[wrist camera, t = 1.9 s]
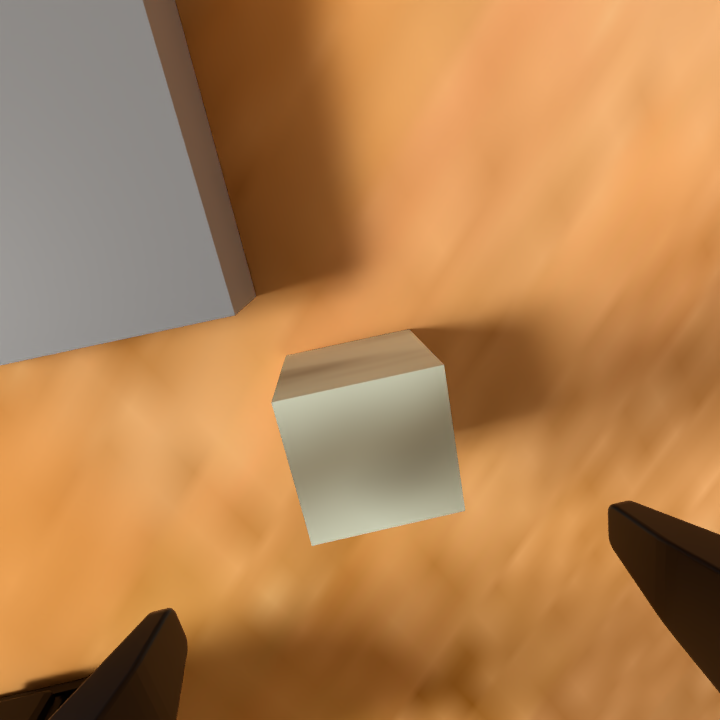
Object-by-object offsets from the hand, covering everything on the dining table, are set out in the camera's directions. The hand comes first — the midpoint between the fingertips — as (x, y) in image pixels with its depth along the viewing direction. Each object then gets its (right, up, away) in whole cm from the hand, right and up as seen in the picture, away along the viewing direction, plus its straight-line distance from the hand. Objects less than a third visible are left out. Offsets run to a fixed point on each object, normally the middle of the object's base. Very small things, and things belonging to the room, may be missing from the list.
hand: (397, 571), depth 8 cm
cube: (-1, +3, +9) cm, 9 cm away
